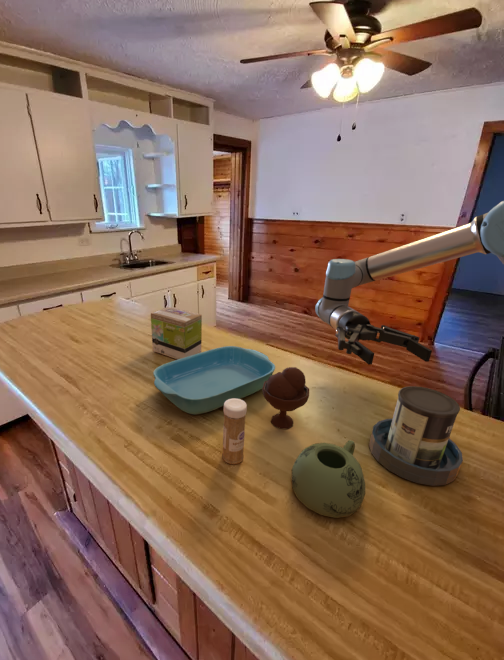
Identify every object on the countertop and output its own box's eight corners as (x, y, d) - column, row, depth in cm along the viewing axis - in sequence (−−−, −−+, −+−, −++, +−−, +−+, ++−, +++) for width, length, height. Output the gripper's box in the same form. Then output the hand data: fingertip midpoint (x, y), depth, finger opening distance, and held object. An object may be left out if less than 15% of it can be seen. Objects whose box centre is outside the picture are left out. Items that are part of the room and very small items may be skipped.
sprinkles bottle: (238, 468, 68) (241, 413, 63) (218, 460, 70) (219, 406, 65) (246, 454, 72) (250, 401, 67) (227, 447, 74) (229, 395, 69)
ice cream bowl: (288, 405, 89) (294, 354, 83) (313, 431, 79) (323, 375, 74) (252, 412, 86) (256, 360, 80) (274, 440, 76) (280, 383, 71)
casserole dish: (236, 358, 115) (237, 339, 112) (287, 385, 99) (290, 363, 96) (139, 392, 94) (137, 370, 92) (183, 434, 78) (183, 408, 75)
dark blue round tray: (437, 438, 77) (442, 424, 76) (472, 494, 63) (479, 477, 61) (362, 427, 81) (365, 414, 79) (378, 478, 66) (383, 462, 65)
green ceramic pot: (341, 539, 54) (350, 499, 51) (275, 491, 63) (279, 454, 60) (380, 486, 64) (390, 450, 61) (319, 451, 73) (325, 418, 70)
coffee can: (439, 450, 73) (459, 395, 68) (439, 481, 65) (461, 421, 60) (387, 433, 78) (401, 380, 73) (381, 460, 70) (396, 403, 65)
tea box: (151, 352, 119) (149, 312, 114) (169, 342, 127) (168, 305, 121) (185, 363, 111) (184, 321, 106) (202, 352, 119) (202, 313, 113)
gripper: (388, 334, 96) (447, 369, 76) (305, 337, 93) (343, 375, 73) (394, 309, 93) (457, 339, 73) (308, 312, 90) (349, 344, 71)
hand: (400, 357), depth 73 cm, fingers open, 13 cm apart
